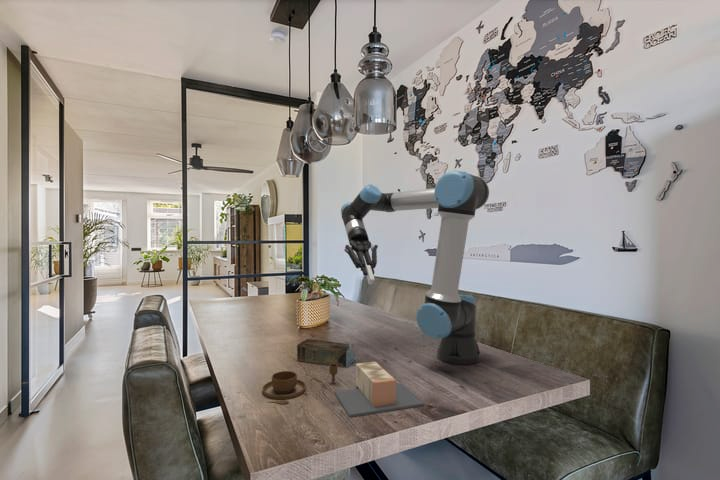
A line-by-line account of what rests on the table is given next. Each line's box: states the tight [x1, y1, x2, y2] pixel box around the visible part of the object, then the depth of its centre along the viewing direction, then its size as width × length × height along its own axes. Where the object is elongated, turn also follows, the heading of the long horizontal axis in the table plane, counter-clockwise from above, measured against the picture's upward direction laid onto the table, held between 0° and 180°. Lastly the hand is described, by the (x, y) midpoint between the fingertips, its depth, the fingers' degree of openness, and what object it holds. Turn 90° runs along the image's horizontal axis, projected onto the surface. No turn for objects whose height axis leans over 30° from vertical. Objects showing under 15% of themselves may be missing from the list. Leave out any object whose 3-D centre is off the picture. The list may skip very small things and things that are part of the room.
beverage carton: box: [296, 338, 356, 368], centre depth 128 cm, size 8×19×7 cm, turn 70°
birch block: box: [355, 361, 397, 407], centre depth 99 cm, size 6×6×15 cm
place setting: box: [262, 364, 339, 405], centre depth 102 cm, size 18×20×6 cm
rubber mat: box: [334, 382, 425, 418], centre depth 97 cm, size 20×14×1 cm
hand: (371, 281), depth 125 cm, fingers closed
